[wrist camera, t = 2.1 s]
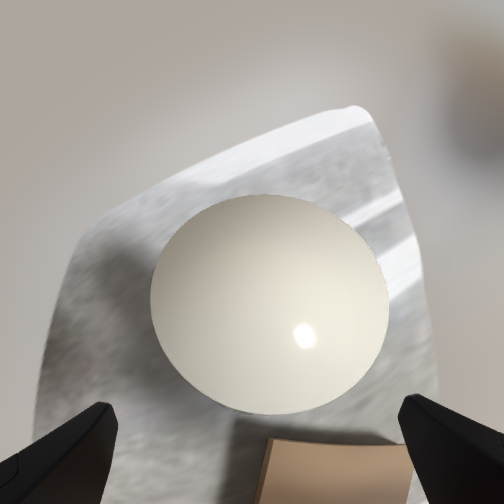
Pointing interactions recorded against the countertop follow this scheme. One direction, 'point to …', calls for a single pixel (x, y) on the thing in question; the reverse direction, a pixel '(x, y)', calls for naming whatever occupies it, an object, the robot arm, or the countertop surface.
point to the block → (333, 473)
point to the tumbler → (269, 304)
